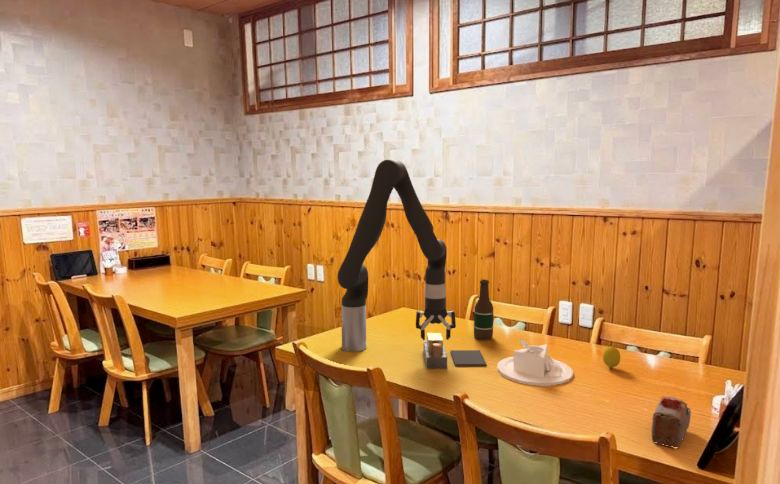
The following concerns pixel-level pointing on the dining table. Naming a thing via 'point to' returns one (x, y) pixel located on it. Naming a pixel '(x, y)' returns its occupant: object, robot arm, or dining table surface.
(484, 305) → the beer bottle
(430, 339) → the cream block
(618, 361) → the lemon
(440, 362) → the hand plane
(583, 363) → the dining table surface
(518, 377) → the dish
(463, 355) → the rubber mat
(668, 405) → the food item
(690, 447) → the dining table surface
